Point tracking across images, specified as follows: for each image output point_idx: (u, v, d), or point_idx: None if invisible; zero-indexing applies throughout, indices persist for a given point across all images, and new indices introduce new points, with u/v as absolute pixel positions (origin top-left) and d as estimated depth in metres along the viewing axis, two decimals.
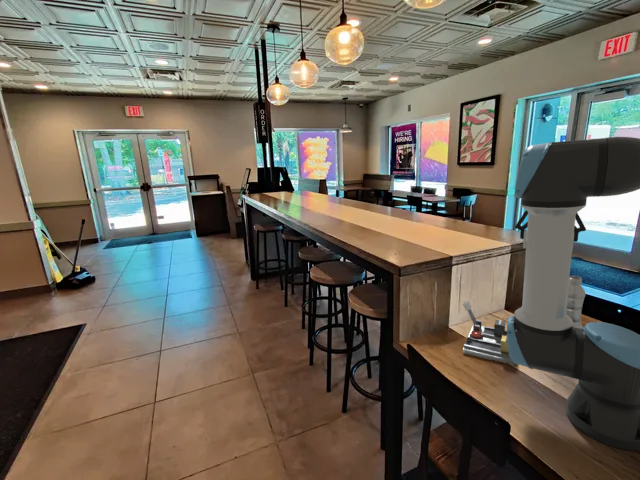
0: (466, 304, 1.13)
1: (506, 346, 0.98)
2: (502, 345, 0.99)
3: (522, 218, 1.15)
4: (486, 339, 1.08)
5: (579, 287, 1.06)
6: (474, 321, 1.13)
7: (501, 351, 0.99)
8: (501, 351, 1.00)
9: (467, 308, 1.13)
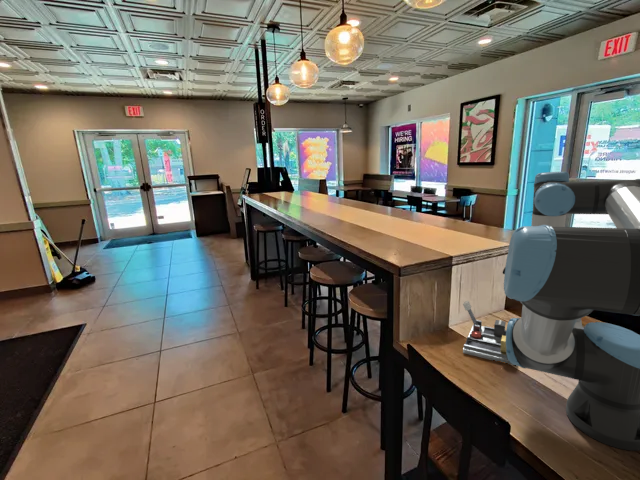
0: (466, 304, 1.13)
1: None
2: (502, 345, 0.99)
3: None
4: (486, 339, 1.08)
5: None
6: (474, 321, 1.13)
7: (501, 351, 0.99)
8: (501, 351, 1.00)
9: (467, 308, 1.13)
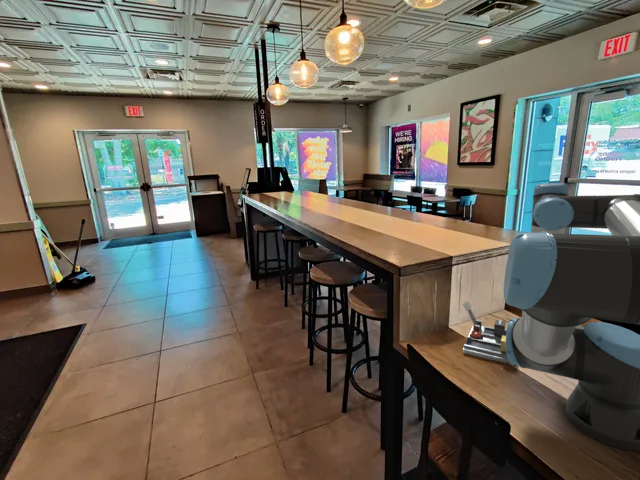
0: (466, 304, 1.13)
1: None
2: (502, 345, 0.99)
3: None
4: (486, 339, 1.08)
5: None
6: (474, 321, 1.13)
7: (501, 351, 0.99)
8: (501, 351, 1.00)
9: (467, 308, 1.13)
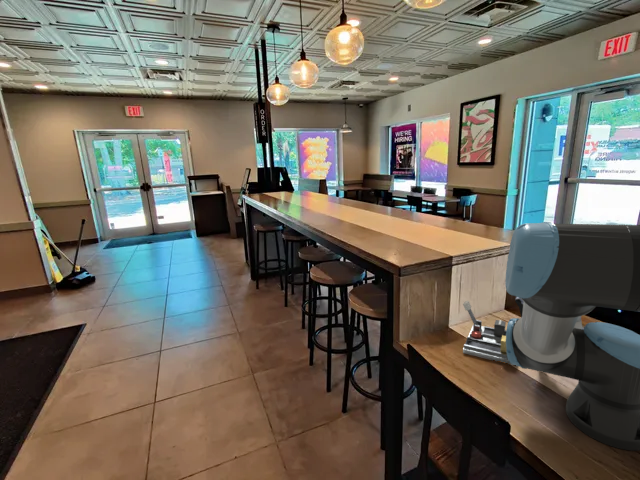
0: (466, 304, 1.13)
1: None
2: (502, 345, 0.99)
3: None
4: (486, 339, 1.08)
5: None
6: (474, 321, 1.13)
7: (501, 351, 0.99)
8: (501, 351, 1.00)
9: (467, 308, 1.13)
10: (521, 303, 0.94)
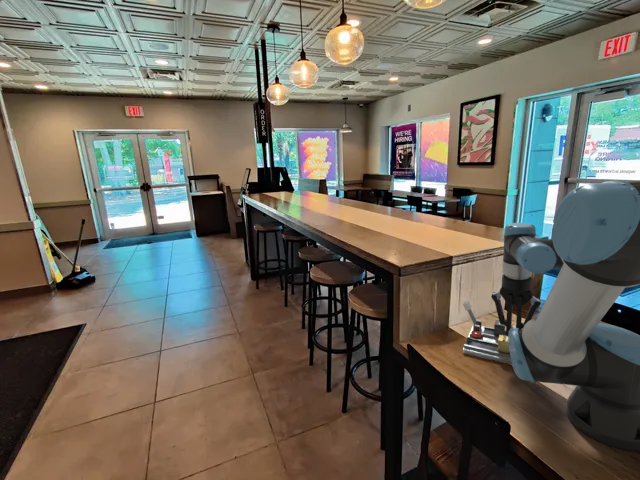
0: (466, 304, 1.13)
1: (503, 345, 0.99)
2: (499, 344, 0.99)
3: (498, 311, 0.98)
4: (486, 339, 1.08)
5: None
6: (474, 321, 1.13)
7: (498, 350, 1.00)
8: (498, 350, 1.00)
9: (467, 308, 1.13)
10: (497, 298, 0.97)
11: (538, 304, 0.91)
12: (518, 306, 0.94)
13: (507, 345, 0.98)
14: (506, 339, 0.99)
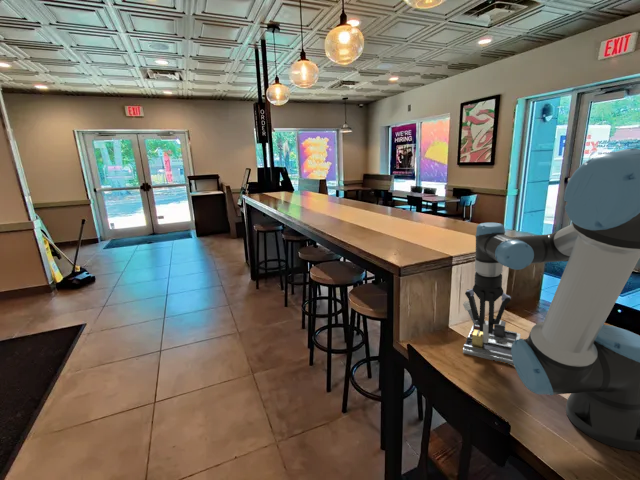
0: (466, 304, 1.13)
1: (477, 340, 1.03)
2: (473, 339, 1.04)
3: (472, 308, 1.02)
4: None
5: None
6: (474, 321, 1.13)
7: (473, 344, 1.04)
8: (472, 344, 1.04)
9: (467, 308, 1.13)
10: (470, 295, 1.02)
11: (508, 300, 0.95)
12: (490, 302, 0.98)
13: (480, 339, 1.02)
14: (480, 333, 1.03)
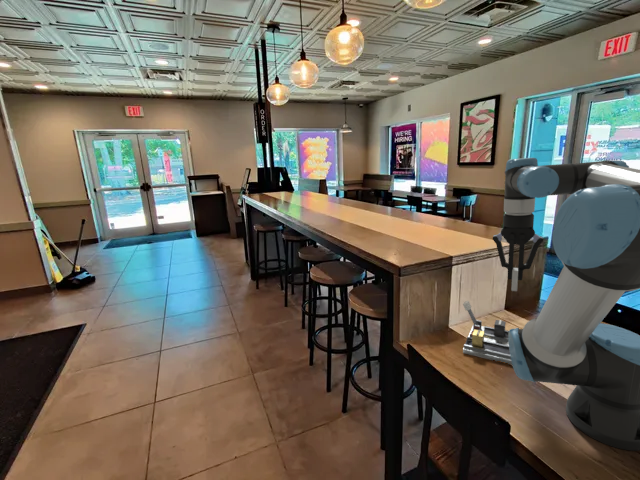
0: (466, 304, 1.13)
1: (477, 340, 1.03)
2: (473, 339, 1.04)
3: (500, 253, 0.95)
4: (486, 339, 1.08)
5: None
6: (474, 321, 1.13)
7: (472, 344, 1.04)
8: (472, 344, 1.04)
9: (467, 308, 1.13)
10: (498, 240, 0.95)
11: (541, 241, 0.89)
12: (520, 245, 0.92)
13: (480, 339, 1.02)
14: (480, 333, 1.03)
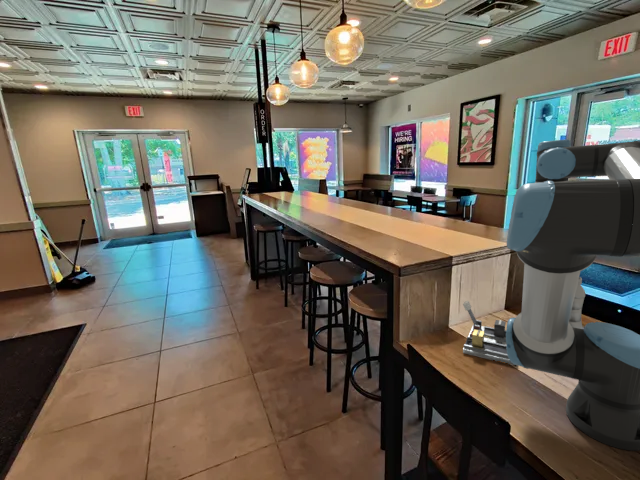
0: (466, 304, 1.13)
1: (477, 340, 1.03)
2: (473, 339, 1.04)
3: None
4: (486, 339, 1.08)
5: (579, 287, 1.06)
6: (474, 321, 1.13)
7: (472, 344, 1.04)
8: (472, 344, 1.04)
9: (467, 308, 1.13)
10: None
11: None
12: None
13: (480, 339, 1.02)
14: (480, 333, 1.03)
